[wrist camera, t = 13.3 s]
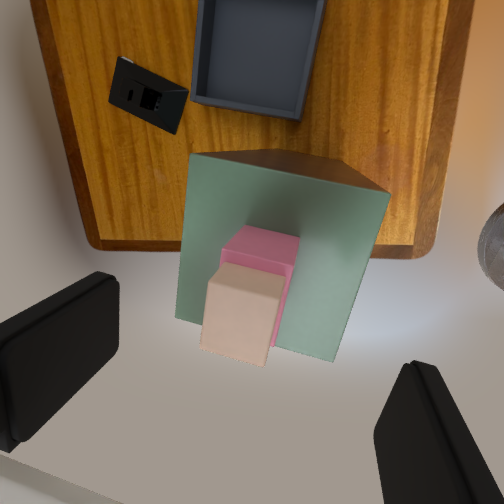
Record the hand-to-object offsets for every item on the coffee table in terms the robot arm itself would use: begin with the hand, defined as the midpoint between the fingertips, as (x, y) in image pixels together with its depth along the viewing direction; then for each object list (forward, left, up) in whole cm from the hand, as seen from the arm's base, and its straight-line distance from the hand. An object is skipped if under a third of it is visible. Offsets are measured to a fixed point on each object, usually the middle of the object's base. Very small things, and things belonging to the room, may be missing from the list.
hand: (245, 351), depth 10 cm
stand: (+1, 0, -41) cm, 41 cm away
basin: (+11, -17, -41) cm, 45 cm away
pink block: (+1, 0, -7) cm, 7 cm away
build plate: (+28, -9, -41) cm, 50 cm away
